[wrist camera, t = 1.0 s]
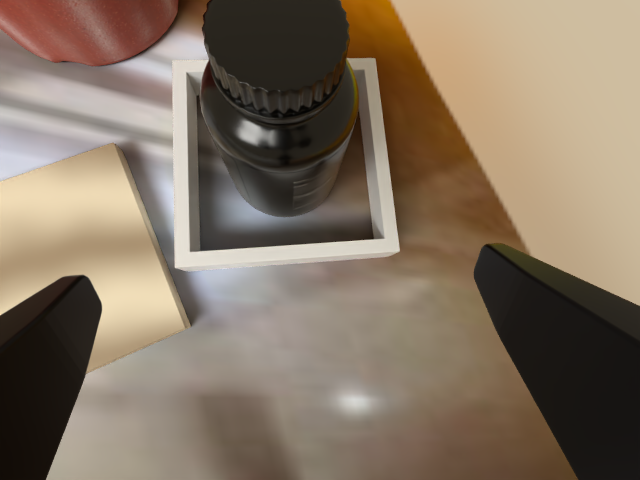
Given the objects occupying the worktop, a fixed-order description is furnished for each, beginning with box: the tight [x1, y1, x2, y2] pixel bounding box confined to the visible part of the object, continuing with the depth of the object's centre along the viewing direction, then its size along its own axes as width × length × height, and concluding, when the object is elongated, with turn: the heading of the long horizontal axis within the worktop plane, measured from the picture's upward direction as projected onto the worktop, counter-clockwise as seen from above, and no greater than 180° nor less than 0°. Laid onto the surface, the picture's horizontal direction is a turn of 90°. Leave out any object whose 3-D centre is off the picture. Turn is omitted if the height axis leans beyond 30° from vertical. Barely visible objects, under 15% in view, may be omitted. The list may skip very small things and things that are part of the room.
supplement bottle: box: [200, 0, 359, 217], centre depth 17 cm, size 7×7×12 cm
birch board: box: [0, 143, 191, 374], centre depth 20 cm, size 12×10×1 cm
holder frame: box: [172, 58, 400, 272], centre depth 21 cm, size 13×13×2 cm
